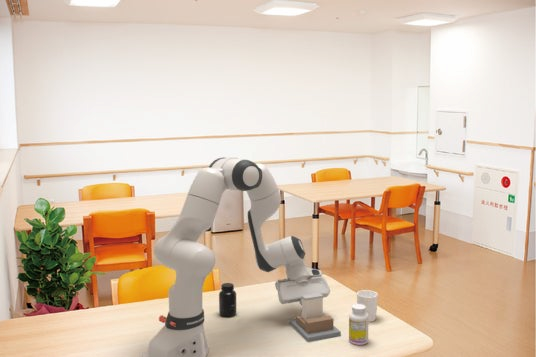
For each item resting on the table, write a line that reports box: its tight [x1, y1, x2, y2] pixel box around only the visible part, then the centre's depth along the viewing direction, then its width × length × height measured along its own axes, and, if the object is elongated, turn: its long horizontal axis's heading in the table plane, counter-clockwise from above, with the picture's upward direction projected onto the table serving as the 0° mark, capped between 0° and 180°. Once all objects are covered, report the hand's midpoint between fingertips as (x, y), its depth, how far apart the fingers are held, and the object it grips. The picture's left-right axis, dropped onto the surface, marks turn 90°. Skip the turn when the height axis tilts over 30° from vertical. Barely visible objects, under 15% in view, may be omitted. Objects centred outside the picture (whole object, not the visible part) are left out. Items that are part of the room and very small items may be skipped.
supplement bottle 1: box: [218, 282, 237, 318], centre depth 211 cm, size 7×7×12 cm
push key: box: [301, 293, 324, 321], centre depth 197 cm, size 3×7×11 cm, turn 111°
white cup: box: [356, 289, 379, 323], centre depth 205 cm, size 8×8×10 cm
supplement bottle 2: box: [348, 303, 369, 346], centre depth 186 cm, size 7×7×13 cm
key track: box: [288, 313, 342, 343], centre depth 196 cm, size 16×13×6 cm
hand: (309, 310), depth 199 cm, fingers closed, pressing on push key
